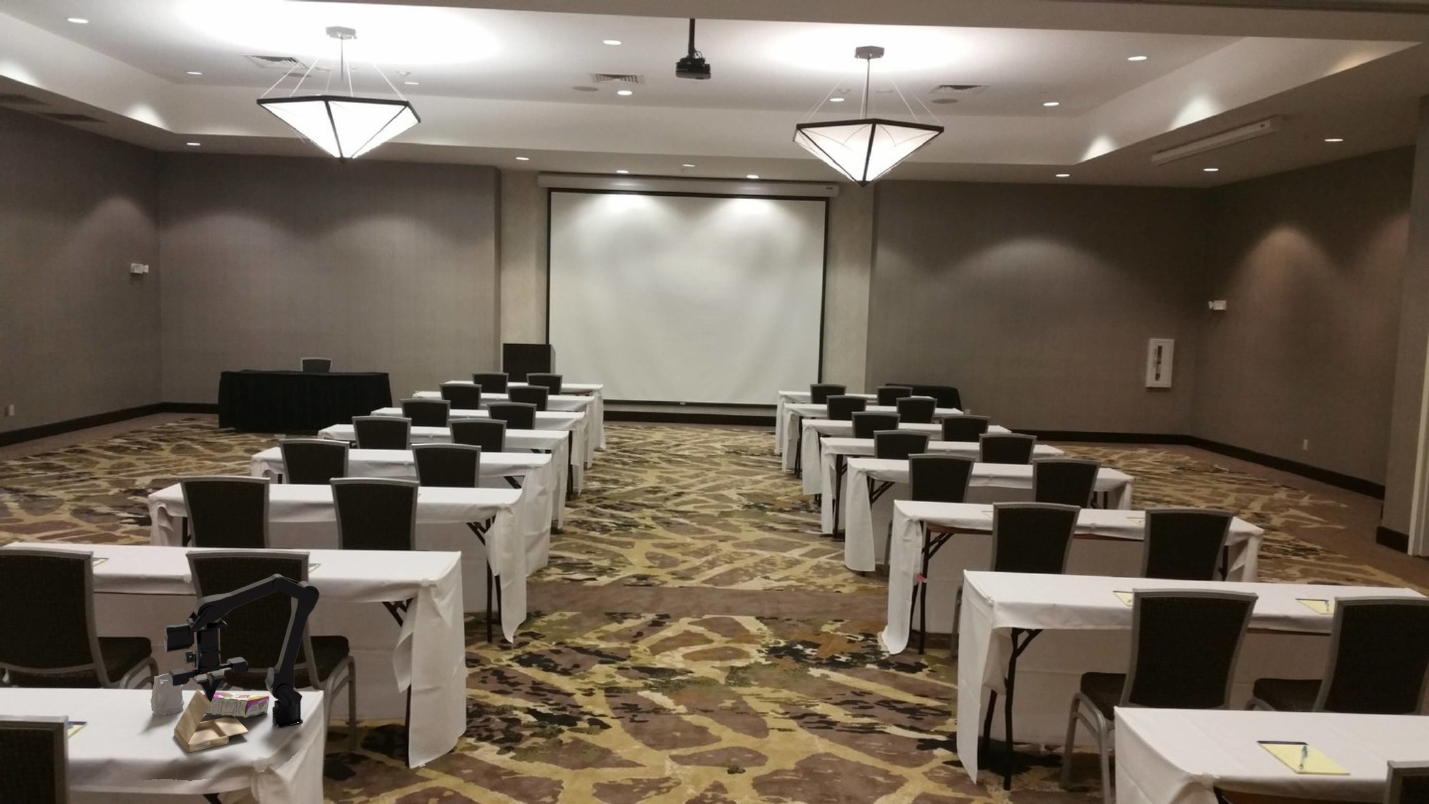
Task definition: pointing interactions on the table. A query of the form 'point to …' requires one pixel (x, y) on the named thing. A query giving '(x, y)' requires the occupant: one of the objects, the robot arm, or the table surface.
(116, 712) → the table surface
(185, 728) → the flap
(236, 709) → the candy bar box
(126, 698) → the table surface
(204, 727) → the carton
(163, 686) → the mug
